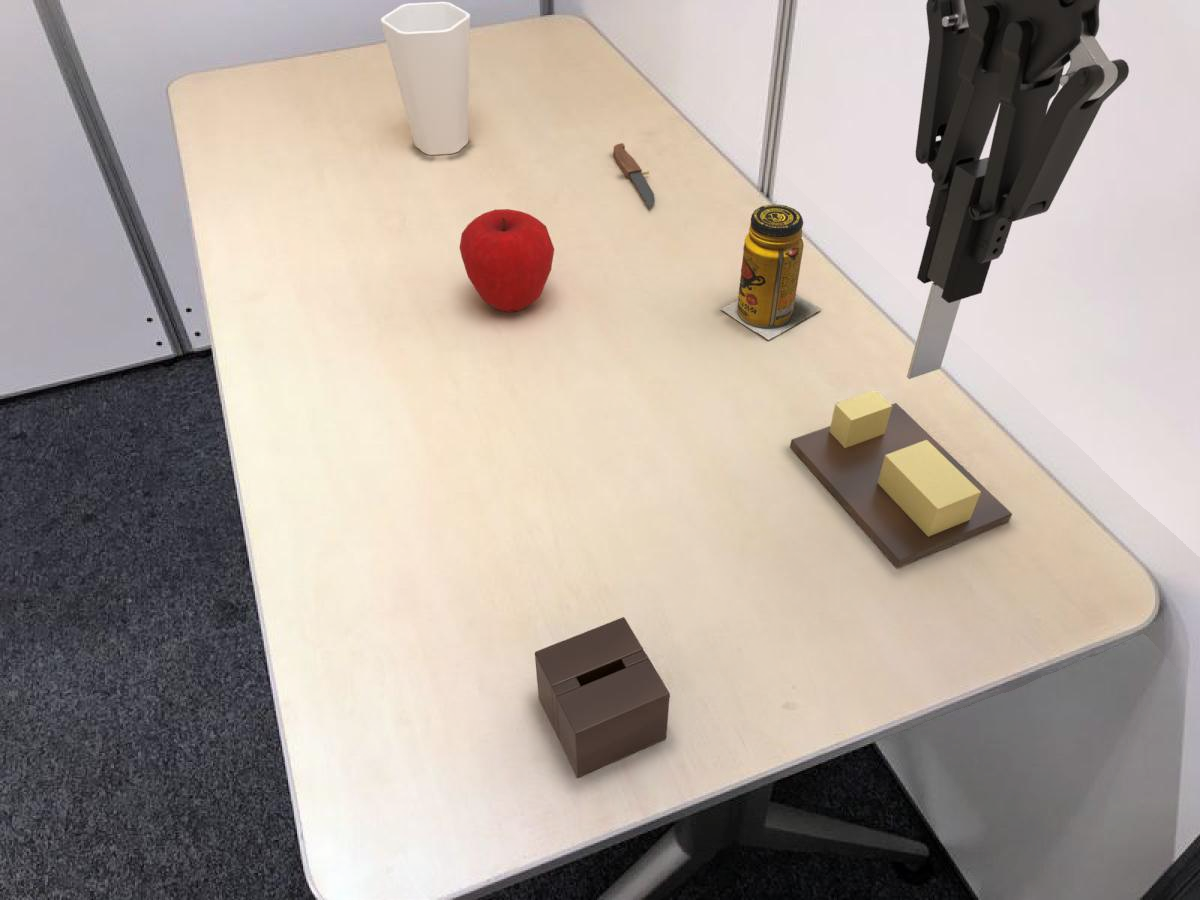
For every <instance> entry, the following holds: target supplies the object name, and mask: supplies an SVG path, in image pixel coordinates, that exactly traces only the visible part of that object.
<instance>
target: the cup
mask: <svg viewBox="0 0 1200 900" xmlns="http://www.w3.org/2000/svg"><path fill="white" fill-rule="evenodd" d="M380 24H381V27H382V31H383V35H384V38H385V42H386V45H387V49H388V52H389V56H390V60H391V63H392V68H393V71H394V74H395V79H396V82H397V85H398V89H399V93H400V96H401V99H402V102H403V107H404V111H405V115H406V117H407V122H408V124H409V129H410V133H411V136H412V140H413V143H414V146H415V148H418V149H419V150H420V151H421V152H422V153H424V154H425V155H428V156H429V155H430V156H436V155H437V156H438V155H451V154H455V153H456V154H457V153H458V152H460V151H461V150H462V149H463V148H464V147H465V146H466V145H467V144H469V114H470V111H469V110H470V109H469V108H470V107H469V106H470V47H471V46H470V40H471V39H470V38H471V32H470V31H471V29H470V28H471V14H470V12H467V11H466V10H464V9H462V8H460V7H458V6H456V5H455V4H453V3H451V2H448V1H433V2H411V3H410V2H409V3H405V4H401V5H399V6H397V7H396V8H395V9H393V10H392V11H390V12H388V13H387V14H385V15H383V16H382V17H381V18H380Z"/></svg>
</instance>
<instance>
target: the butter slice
mask: <svg viewBox="0 0 1200 900" xmlns="http://www.w3.org/2000/svg"><path fill="white" fill-rule="evenodd" d="M891 404H892V403H890V402H889V401H888V400H886V398H885V397H883V395H881V394H880V393H879V391H877V390H876V389H875V390H872V391H869V392H865V393H863V394H860V395H857V396H854V397H852V398H849V399H845V400H843V401H840V402H836V403H835V404H834V408H833V413H832V418H831V422H830V425H829V426H830V431H829V432H830V433H831V434H832V435H833V436H834V437H835V438H836V439H837V440H838V441H839V443H840V444H841V445H842V446H843V447H844V448H847V447H850V446H852V445H855V444H858V443H861V442H863V441H866V440H869V439H872V438H874V437H877V436H880V435H883V434H885V430H886V427H887V423H888V419H889V416H890V412H891V408H892V405H891Z"/></svg>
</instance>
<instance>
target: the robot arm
mask: <svg viewBox="0 0 1200 900" xmlns="http://www.w3.org/2000/svg"><path fill="white" fill-rule="evenodd" d="M1100 1H1101V0H927V1H926V5H925V6H926V7H925V10H926V18H927V19H926V20H927V28H928V29H927V30H928V37H929V38H928V39H929V40H928V47H927V56H926V63H925V71H924V78H923V79H924V80H923V86H922V87H923V88H922V96H921V104H920V112H919V119H918V120H919V121H918V130H917V138H916V145H915V158H916V161H917V163H919V164H921V165H924V164H927V166H928V167H929V168H930V170H931V180H932V182H933V188H932V193H931V197H930V199H929V204H928V209H927V212H926V216H925V221H926V226H927V227H929V230H928V233H927V236H926V237H927V238H926V241H925V244H924V249H923V252H922V256H921V260H920V264H919V267H918V272H917V276H916V280H918V281H920V282H921V283H922V284H928V283H930V282H932V281H931V280H930V279H929V278H927V273H928V269H929V266H930V262H931V258H932V254H933V251H934V247H935V243H936V239H937V236H938V232H939V228H940V224H941V220H942V217H943V213H944V209H945V205H946V202H947V198H948V193H949V190H950V186H951V182H952V178H953V175H954V171H955V167H956V166H957V165H960V164H964V163H968V162H972V161H976V160H980V159H981V156H982V154H983V151H984V148H985V145H986V142H987V140H988V138H989V135H990V131H991V129H992V126H993V123H994V120H995V118H996V120H995V126H994V130H993V136H992V140H991V145H990V150H989V155H988V157H989V159H988V163H987V168H986V173H985V178H984V182H983V187H982V192H981V196H980V201H979V204H977V205H973V206H970V207H969V208H966V211H965V215H964V219H963V222H962V226H961V229H960V233H959V236H958V240H957V243H956V247H955V250H954V254H953V257H952V261H951V265H950V268H949V272H948V275H947V279H946V282H945V286H944V289H943V293H942V296H941V297H942V298H943V299H944V300H945V301H947V302H948V303H951V302H954V301H957V300H964V299H967V298H970V297H972V296H977V295H979V294H980V295H981V294H982V292H983V289H984V286H985V283H986V279H987V277H988V274H989V270H990V267H991V263H992V262H993V261H994V260H997V259H999V258H1000V257H1001V256H1002V254H1003V253H1004V249H1005V247H1006V246H1005V245H1006V244H1007V240H1008V237H1009V235H1010V231H1011V228H1012V225H1013V222H1016V221H1020V220H1023V219H1028V218H1031V217H1034V216H1037V215H1042V214H1044V213H1047V212H1048V210H1050V207H1051V205H1052V204H1053V201H1054V200H1055V198H1056V195H1057V194H1058V192H1059V190H1060V187H1061V186H1062V185H1063V182H1064V180H1065V178H1066V176H1067V174H1068V173H1069V170H1070V168H1071V167H1072V165H1073V162H1074V160H1075V159H1076V157H1077V154H1078V152H1079V150H1080V148H1081V147H1082V144H1083V142H1084V141H1085V138H1086V137H1087V135H1088V132H1089V131H1090V129H1091V127H1092V125H1093V123H1094V121H1095V119H1096V117H1097V115H1098V114H1099V111H1100V108H1101V107H1102V106H1103V103H1104V102H1105V101H1106V100H1107V99H1108V98H1109V97H1110V96H1111V95H1112V94H1113V93H1114V92H1115V91H1116V90H1117V89H1118V88H1119V87H1120V86H1121V85H1122V84H1123V83H1124V82H1125V81H1126V79H1127V78H1128V77H1129V73H1130V67H1129V64H1128V63H1127V62H1126V61H1125V60H1124V59H1122V58H1118V59H1114V60H1110V59H1109V58H1108V56H1107V54H1106V53H1105V51H1104V50H1103V48H1102V47H1101V45H1100V44H1099V42H1098V40H1097V39H1096V36H1097V35H1098V33H1099V29H1100V3H1101V2H1100ZM1069 62H1070V63H1069ZM1067 64H1069V67H1068V69H1067V71H1066V72H1065V73H1063V72H1064V68H1065V66H1066V65H1067ZM1060 86H1061V88H1060ZM1053 97H1054V98H1053ZM1052 98H1053V99H1052ZM1051 100H1052V101H1051ZM1050 101H1051V103H1050ZM1049 103H1050V104H1049ZM996 115H997V116H996ZM938 137H940V139H939V140H937V138H938Z"/></svg>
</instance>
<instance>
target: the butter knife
mask: <svg viewBox="0 0 1200 900" xmlns="http://www.w3.org/2000/svg"><path fill="white" fill-rule="evenodd" d="M988 159H989V156H987V157H984V158H980V159H979V160H976V161H972V162H968V163H964V164H960V165H957V166H956V167H955V171H954V175H953V178H952V182H951V186H950V190H949V193H948V198H947V202H946V205H945V209H944V213H943V217H942V220H941V224H940V228H939V232H938V236H937V239H936V243H935V247H934V251H933V254H932V258H931V262H930V266H929V269H928V273H927V278H929V279H930V280H931V282H932V283H931V286H930V290H929V293H928V296H927V297H928V298H927V301H926V305H925V308H924V311H923V316H922V319H921V322H920V326H919V330H918V334H917V337H916V341H915V345H914V349H913V351H912V356H911V359H910V363H909V367H908V371H907V373H906V378H907V379H908V380H911V379H914V378H917V377H919V376H922V375H923V376H924V375H926V374H928V373H932V372H935V371H937V370H940V369H941V367H942V364H943V361H944V358H945V354H946V350H947V347H948V344H949V340H950V337H951V334H952V331H953V327H954V325H955V320H956V318H957V314H958V310H959V307H960V305H961V300H962V299H961V300H957V301H954V302H951V303H948V302H947V301H945V300H944V299H943V298H942V297H941V296H942V293H943V289H944V286H945V282H946V279H947V275H948V272H949V268H950V265H951V261H952V257H953V254H954V250H955V247H956V243H957V240H958V236H959V233H960V229H961V226H962V222H963V219H964V215H965V211H966V208H969V207H970V206H973V205H977V204H979V201H980V196H981V192H982V187H983V182H984V178H985V173H986V168H987V163H988Z"/></svg>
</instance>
